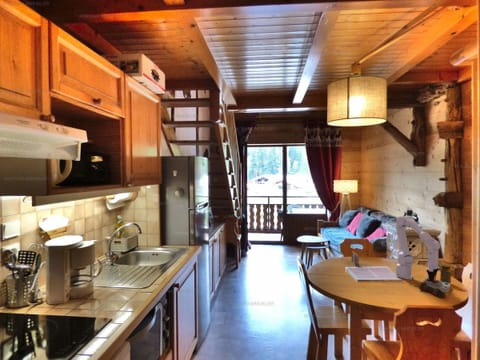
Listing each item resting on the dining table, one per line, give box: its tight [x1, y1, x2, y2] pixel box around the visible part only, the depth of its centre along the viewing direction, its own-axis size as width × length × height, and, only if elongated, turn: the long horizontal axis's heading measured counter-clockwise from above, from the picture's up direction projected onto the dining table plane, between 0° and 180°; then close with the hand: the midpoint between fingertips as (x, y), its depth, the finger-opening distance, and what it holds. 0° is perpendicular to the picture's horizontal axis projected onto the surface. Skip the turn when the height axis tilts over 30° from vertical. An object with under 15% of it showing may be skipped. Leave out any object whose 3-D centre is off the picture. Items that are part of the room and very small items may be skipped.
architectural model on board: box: [351, 249, 359, 266], centre depth 254 cm, size 11×3×10 cm, turn 174°
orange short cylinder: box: [427, 275, 437, 283], centre depth 202 cm, size 4×4×6 cm
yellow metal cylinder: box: [439, 264, 452, 285], centre depth 209 cm, size 7×8×12 cm
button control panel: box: [422, 277, 451, 294], centre depth 201 cm, size 14×12×4 cm
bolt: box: [418, 281, 447, 299], centre depth 191 cm, size 6×5×15 cm
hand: (432, 279), depth 202 cm, fingers open, 7 cm apart
